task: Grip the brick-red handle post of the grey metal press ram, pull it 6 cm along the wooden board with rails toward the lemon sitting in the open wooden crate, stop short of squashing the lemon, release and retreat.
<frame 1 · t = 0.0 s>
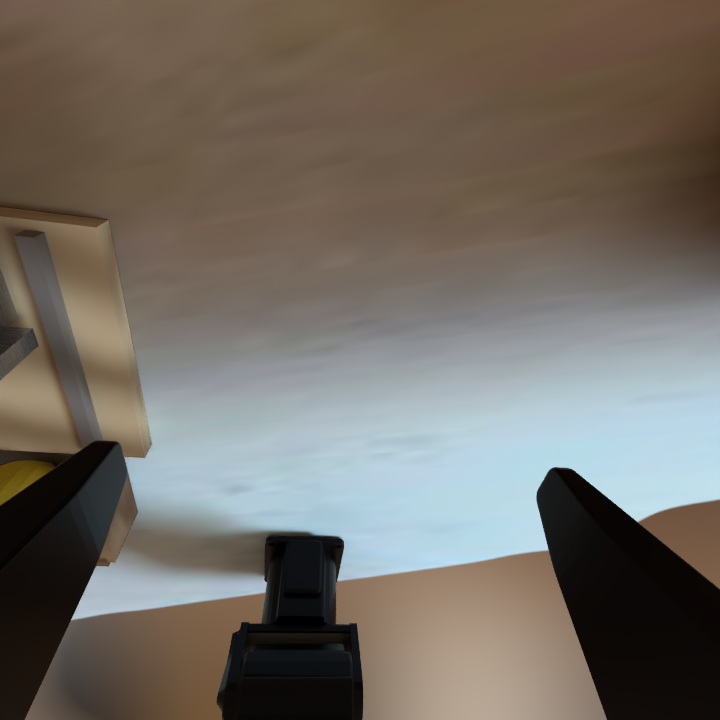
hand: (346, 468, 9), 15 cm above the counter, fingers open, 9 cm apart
open wooden crate: (53, 473, 29), on the counter
wooden board with rails: (0, 340, 23), on the counter
lemon: (51, 461, 29), resting in open wooden crate
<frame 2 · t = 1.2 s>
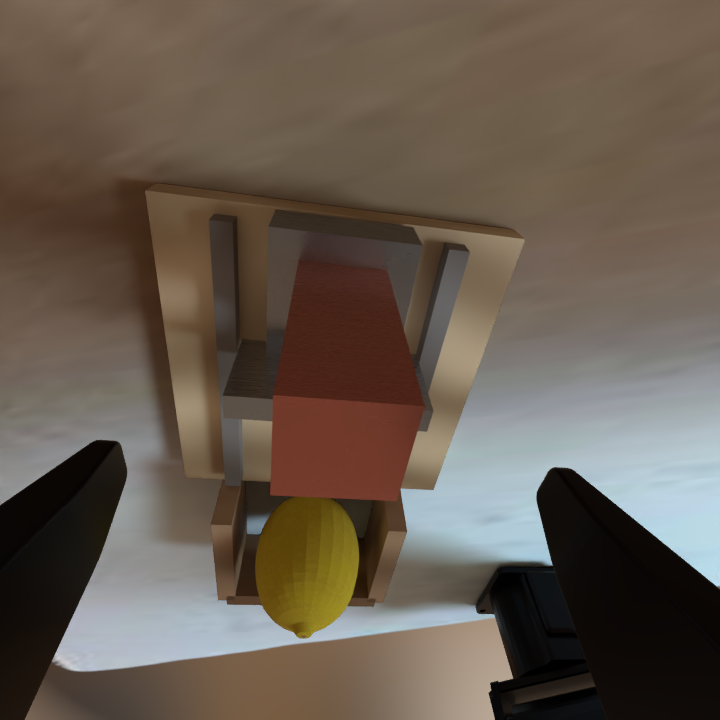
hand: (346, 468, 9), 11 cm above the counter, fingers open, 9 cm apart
open wooden crate: (310, 504, 26), on the counter
ram: (337, 356, 13), point 6 cm above the counter, slide at 0.0 cm
wooden board with rails: (326, 364, 20), on the counter
lemon: (311, 491, 26), resting in open wooden crate
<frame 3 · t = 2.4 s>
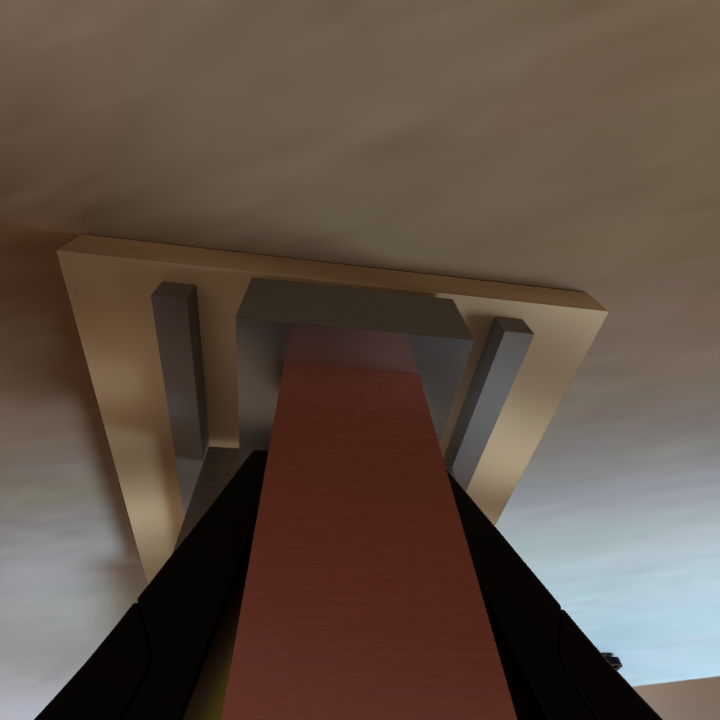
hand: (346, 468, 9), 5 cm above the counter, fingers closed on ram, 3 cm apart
ram: (344, 524, 8), point 6 cm above the counter, slide at 0.0 cm, touching gripper
wooden board with rails: (326, 454, 16), on the counter
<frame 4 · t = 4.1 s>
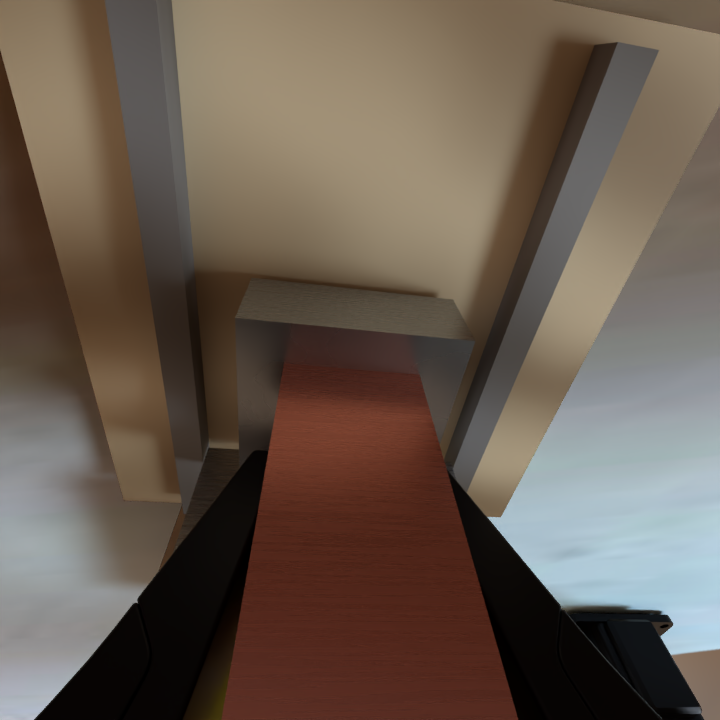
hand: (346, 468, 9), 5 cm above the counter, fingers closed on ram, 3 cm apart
open wooden crate: (316, 535, 18), on the counter
ram: (344, 525, 8), point 6 cm above the counter, slide at 5.9 cm, touching gripper
wooden board with rails: (346, 316, 12), on the counter
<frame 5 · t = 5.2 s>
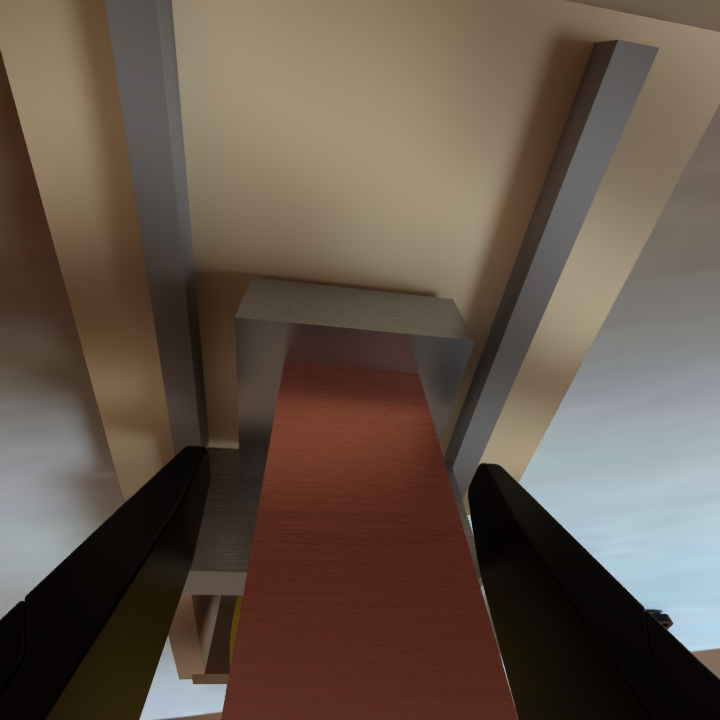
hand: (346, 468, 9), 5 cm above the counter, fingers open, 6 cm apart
open wooden crate: (315, 534, 18), on the counter
ram: (344, 524, 8), point 6 cm above the counter, slide at 5.9 cm
wooden board with rails: (346, 315, 12), on the counter
lemon: (317, 516, 18), resting in open wooden crate
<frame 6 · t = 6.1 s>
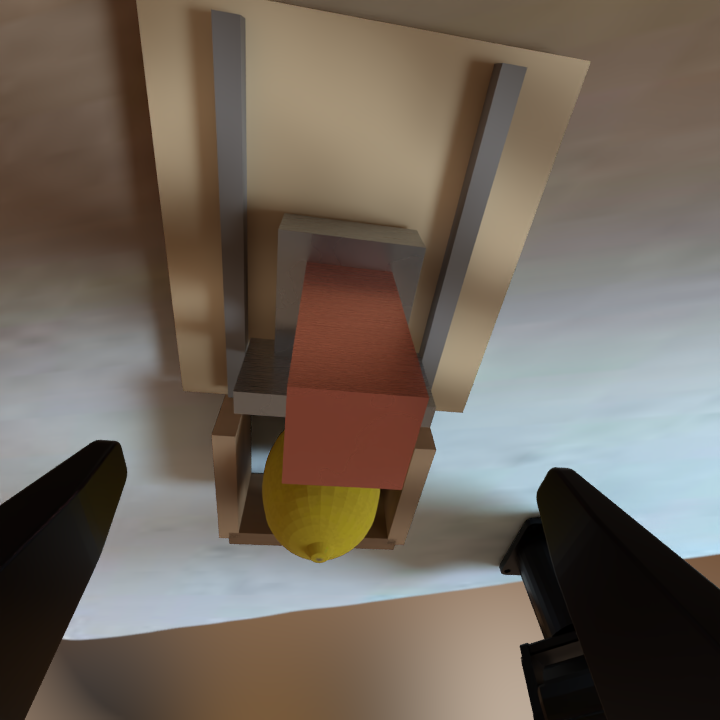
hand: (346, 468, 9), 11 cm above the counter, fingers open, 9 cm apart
open wooden crate: (322, 435, 24), on the counter
ram: (344, 354, 13), point 6 cm above the counter, slide at 5.9 cm
wooden board with rails: (346, 248, 18), on the counter
lemon: (324, 420, 23), resting in open wooden crate
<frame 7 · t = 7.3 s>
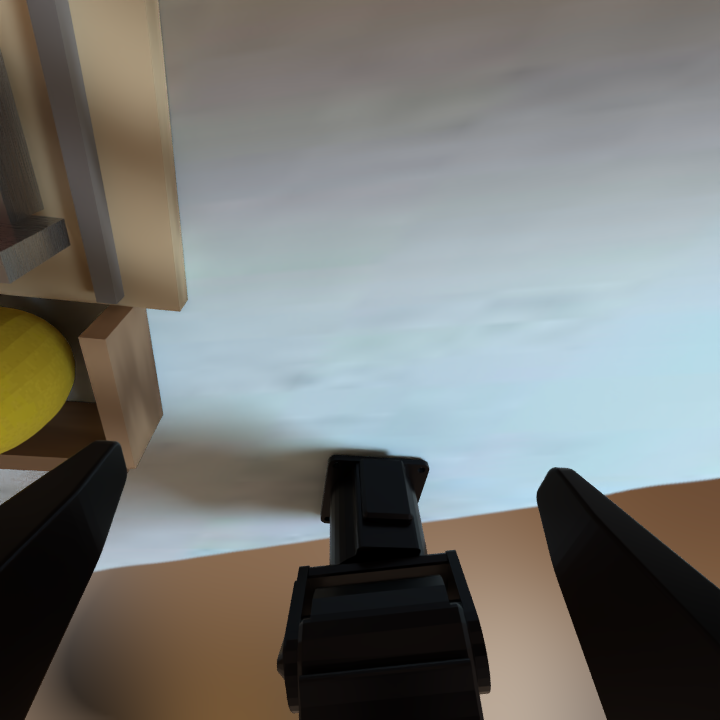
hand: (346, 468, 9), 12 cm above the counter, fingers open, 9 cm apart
open wooden crate: (49, 347, 21), on the counter
lemon: (46, 328, 21), resting in open wooden crate
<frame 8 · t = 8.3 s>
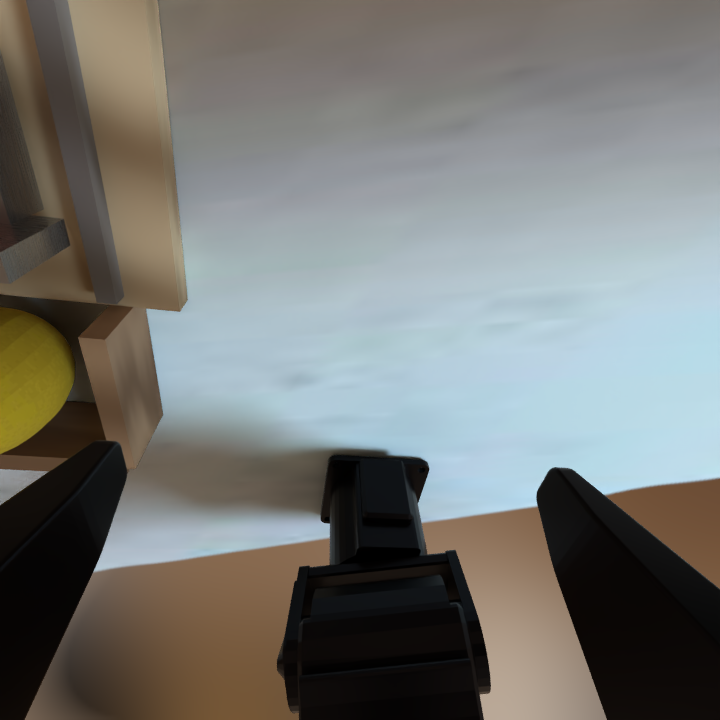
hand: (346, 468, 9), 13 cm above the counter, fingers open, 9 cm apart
open wooden crate: (49, 348, 21), on the counter
lemon: (46, 328, 21), resting in open wooden crate
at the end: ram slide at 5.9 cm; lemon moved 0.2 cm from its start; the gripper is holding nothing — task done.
